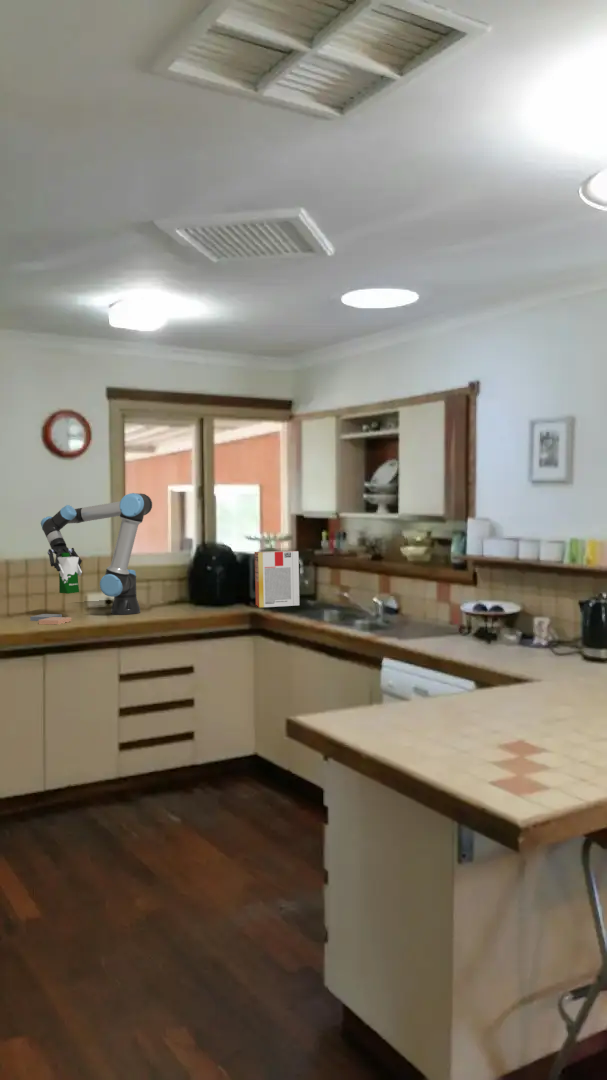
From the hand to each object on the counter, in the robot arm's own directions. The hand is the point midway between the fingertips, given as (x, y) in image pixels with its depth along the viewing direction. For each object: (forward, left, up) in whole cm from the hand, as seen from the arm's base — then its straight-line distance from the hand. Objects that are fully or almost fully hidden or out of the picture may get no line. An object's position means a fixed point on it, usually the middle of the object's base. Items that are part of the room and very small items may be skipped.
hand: (71, 574), depth 427 cm
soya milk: (+3, -2, -9) cm, 10 cm away
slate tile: (+15, +2, -23) cm, 27 cm away
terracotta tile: (+3, +11, -23) cm, 25 cm away
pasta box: (-82, -75, -23) cm, 113 cm away
